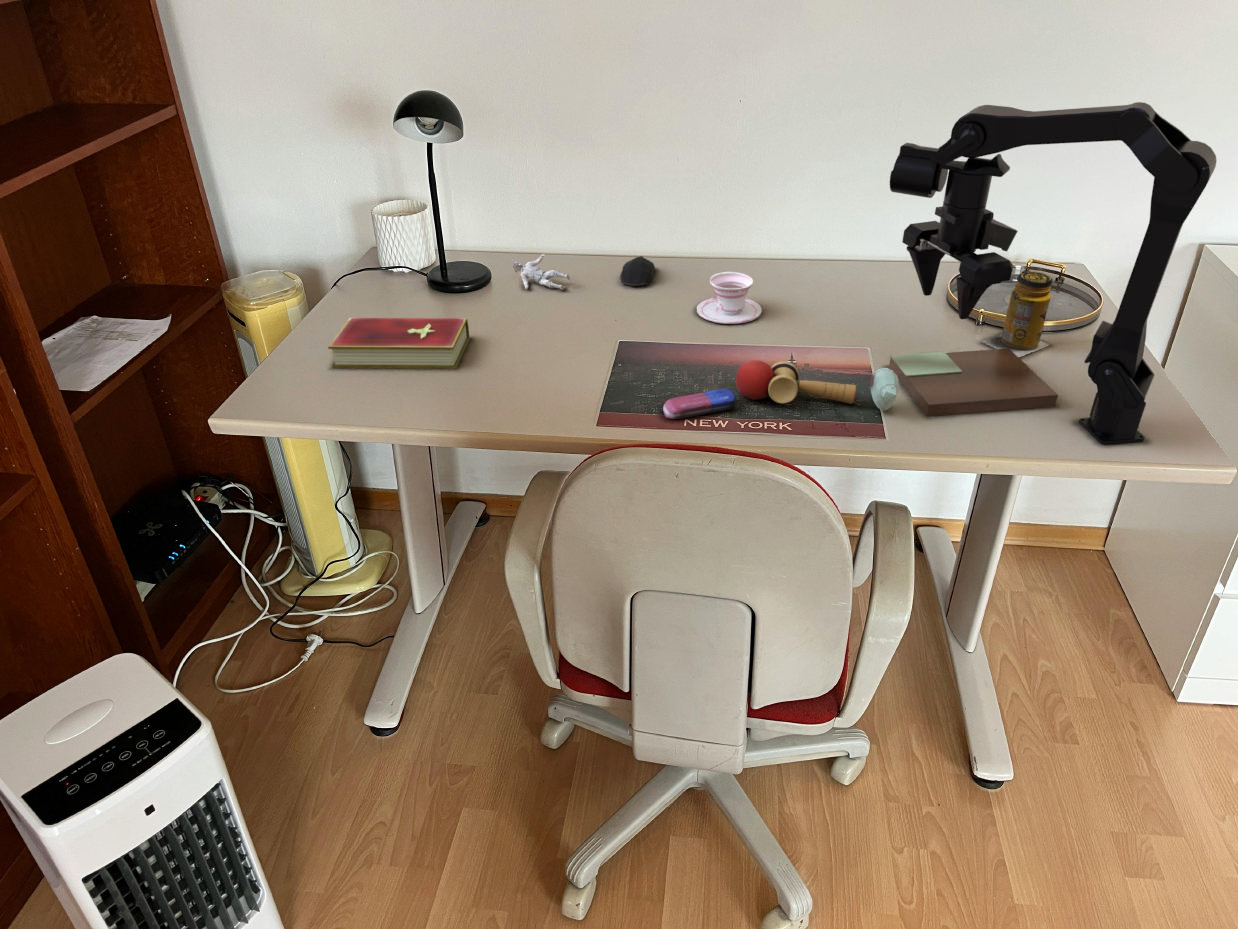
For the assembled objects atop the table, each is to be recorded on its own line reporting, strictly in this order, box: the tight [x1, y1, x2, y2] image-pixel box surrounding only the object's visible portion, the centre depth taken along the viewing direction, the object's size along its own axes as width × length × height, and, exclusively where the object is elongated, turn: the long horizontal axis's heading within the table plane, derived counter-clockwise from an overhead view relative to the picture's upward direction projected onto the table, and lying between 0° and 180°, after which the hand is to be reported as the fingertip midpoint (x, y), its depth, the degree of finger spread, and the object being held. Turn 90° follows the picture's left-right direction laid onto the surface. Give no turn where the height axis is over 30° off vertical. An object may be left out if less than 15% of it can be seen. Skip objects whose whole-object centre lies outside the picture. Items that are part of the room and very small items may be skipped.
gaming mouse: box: [619, 255, 656, 287], centre depth 184 cm, size 6×15×4 cm, turn 169°
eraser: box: [662, 388, 737, 420], centre depth 138 cm, size 11×4×2 cm, turn 105°
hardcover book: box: [327, 317, 470, 370], centre depth 156 cm, size 12×21×4 cm, turn 87°
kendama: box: [735, 359, 857, 405], centre depth 139 cm, size 8×6×18 cm
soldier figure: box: [512, 254, 571, 291], centre depth 181 cm, size 8×5×12 cm
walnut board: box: [888, 348, 1059, 417], centre depth 142 cm, size 16×20×2 cm
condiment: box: [981, 271, 1053, 358], centre depth 151 cm, size 7×8×12 cm
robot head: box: [869, 367, 900, 411], centre depth 136 cm, size 8×4×7 cm, turn 170°
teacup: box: [696, 271, 763, 325], centre depth 167 cm, size 12×12×6 cm
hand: (944, 306), depth 136 cm, fingers open, 9 cm apart
